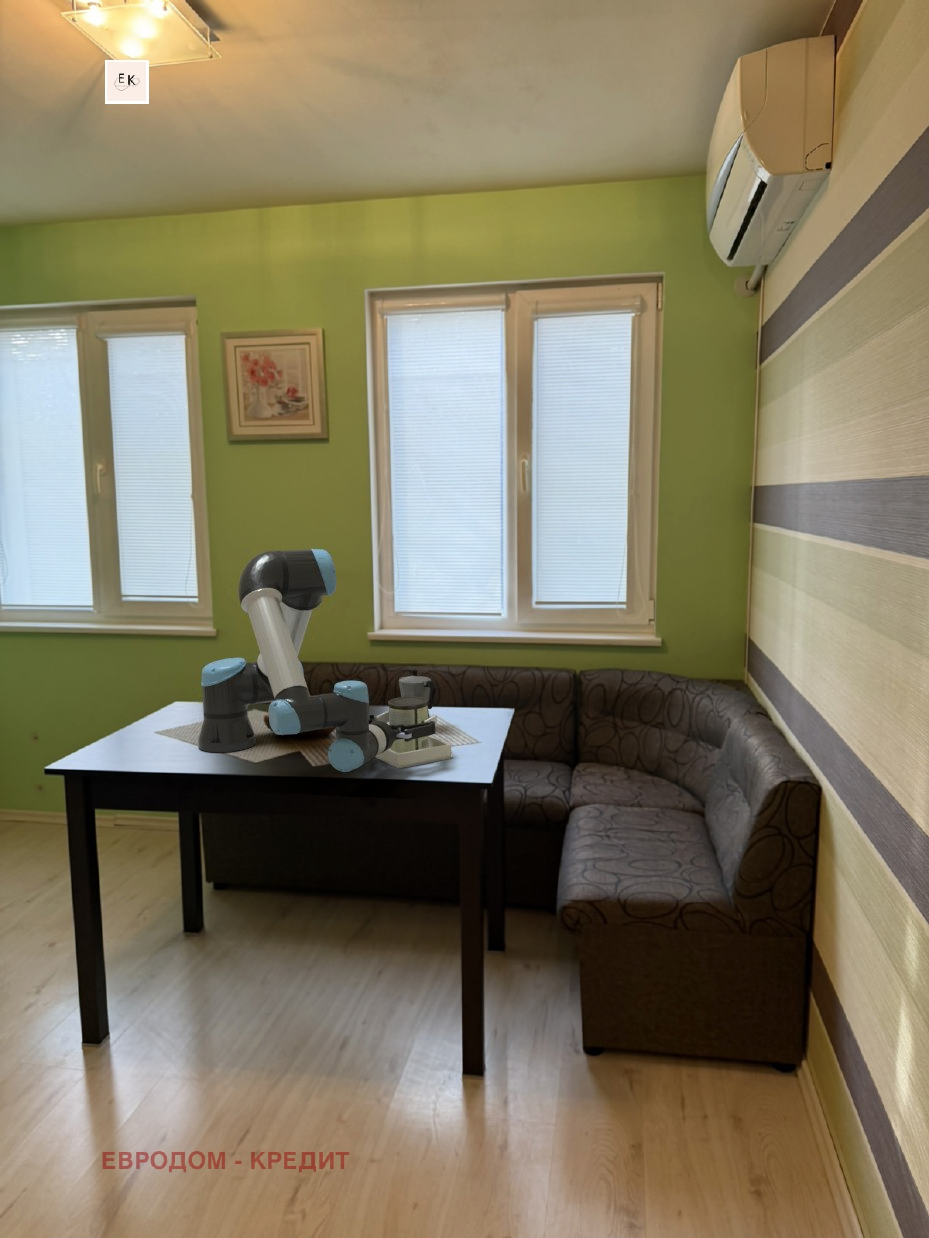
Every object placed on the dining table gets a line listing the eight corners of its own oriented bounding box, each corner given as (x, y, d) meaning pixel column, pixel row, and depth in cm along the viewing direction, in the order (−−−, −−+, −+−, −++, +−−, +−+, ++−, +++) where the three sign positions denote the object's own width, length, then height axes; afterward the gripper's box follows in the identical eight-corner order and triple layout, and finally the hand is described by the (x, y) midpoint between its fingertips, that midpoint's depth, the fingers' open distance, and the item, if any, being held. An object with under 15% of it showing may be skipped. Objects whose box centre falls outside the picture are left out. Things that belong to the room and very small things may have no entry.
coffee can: (393, 747, 226) (392, 696, 224) (431, 748, 225) (430, 696, 223) (386, 759, 216) (384, 705, 214) (426, 759, 215) (425, 705, 213)
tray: (369, 753, 223) (369, 740, 222) (420, 744, 231) (420, 731, 231) (397, 768, 210) (397, 754, 209) (451, 758, 218) (451, 744, 218)
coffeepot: (388, 729, 247) (387, 668, 245) (413, 723, 253) (412, 664, 251) (423, 739, 236) (422, 676, 234) (448, 733, 242) (447, 671, 240)
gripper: (327, 750, 206) (369, 728, 225) (421, 760, 197) (456, 736, 216) (326, 719, 205) (368, 700, 224) (421, 728, 196) (455, 707, 215)
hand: (411, 718), depth 220 cm, fingers open, 13 cm apart
